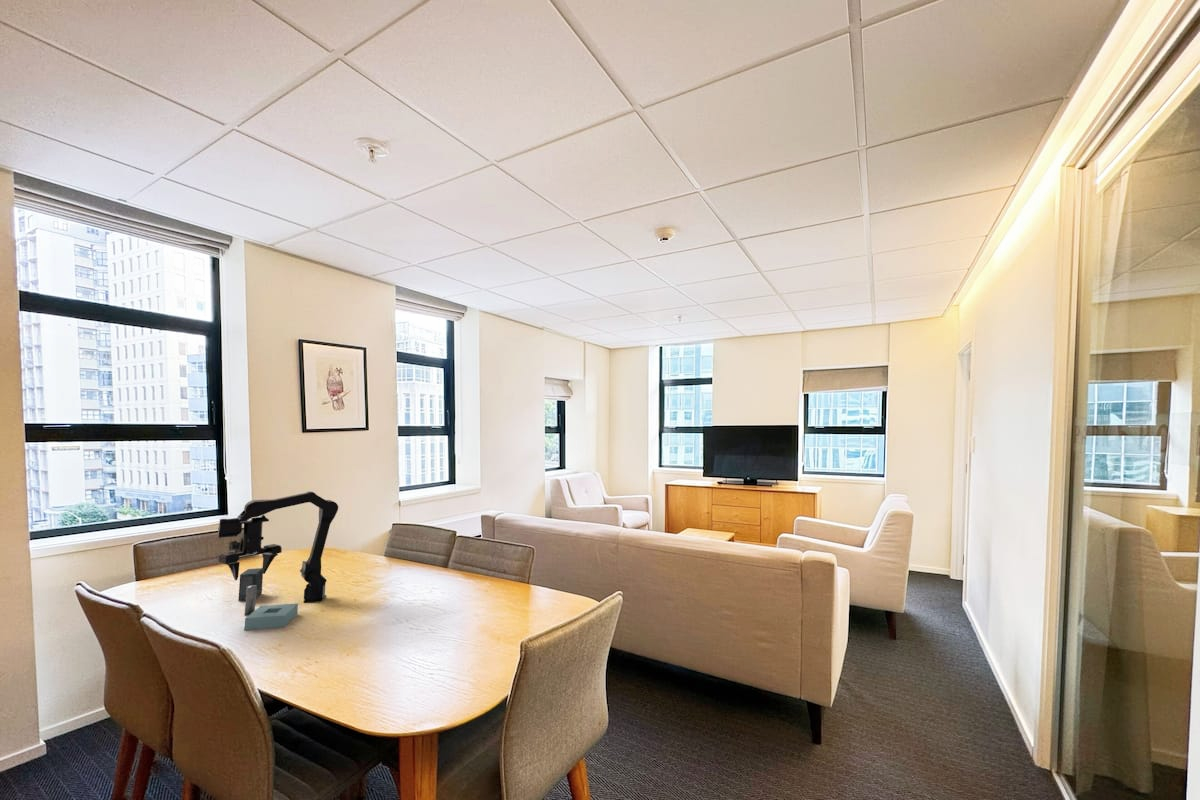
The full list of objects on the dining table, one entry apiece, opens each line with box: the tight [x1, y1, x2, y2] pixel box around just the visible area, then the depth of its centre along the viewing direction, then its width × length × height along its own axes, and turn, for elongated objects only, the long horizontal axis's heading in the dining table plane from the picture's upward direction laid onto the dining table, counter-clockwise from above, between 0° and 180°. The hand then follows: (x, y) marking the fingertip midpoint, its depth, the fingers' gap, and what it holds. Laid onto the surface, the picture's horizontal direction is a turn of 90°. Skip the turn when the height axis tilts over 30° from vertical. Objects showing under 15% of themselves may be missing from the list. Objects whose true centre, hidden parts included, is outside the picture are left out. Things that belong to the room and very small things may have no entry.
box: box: [238, 567, 264, 602], centre depth 191 cm, size 8×6×11 cm
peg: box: [244, 585, 257, 617], centre depth 174 cm, size 3×3×10 cm
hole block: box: [243, 603, 299, 631], centre depth 167 cm, size 12×12×4 cm
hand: (250, 576), depth 176 cm, fingers open, 9 cm apart
